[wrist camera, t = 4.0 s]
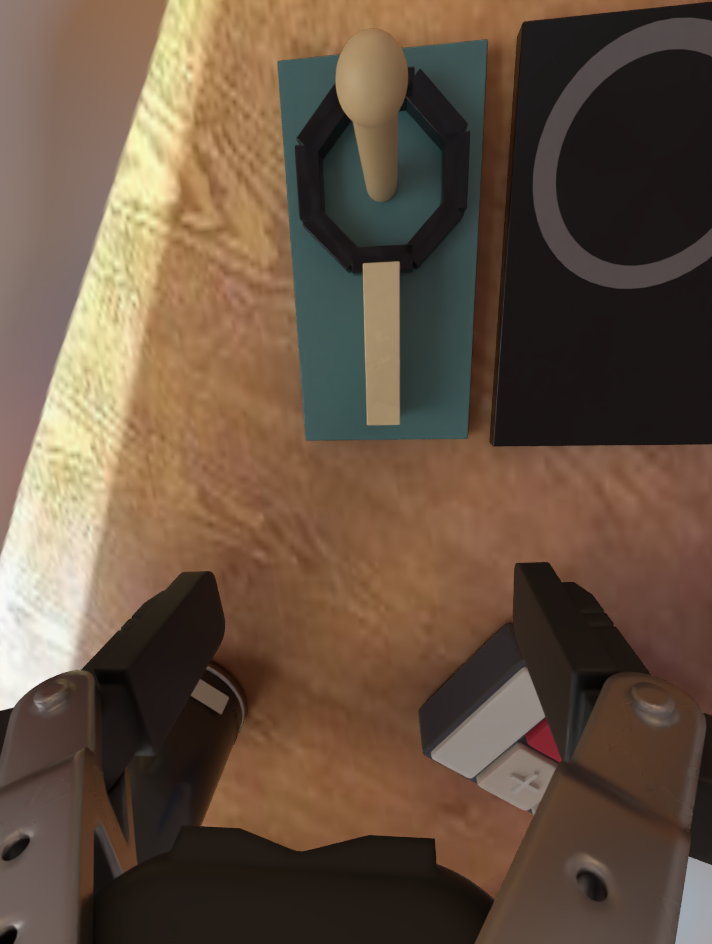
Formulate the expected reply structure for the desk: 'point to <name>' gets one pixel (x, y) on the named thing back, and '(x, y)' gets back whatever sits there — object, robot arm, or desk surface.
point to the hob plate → (608, 233)
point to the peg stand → (385, 235)
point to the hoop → (386, 260)
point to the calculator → (493, 725)
